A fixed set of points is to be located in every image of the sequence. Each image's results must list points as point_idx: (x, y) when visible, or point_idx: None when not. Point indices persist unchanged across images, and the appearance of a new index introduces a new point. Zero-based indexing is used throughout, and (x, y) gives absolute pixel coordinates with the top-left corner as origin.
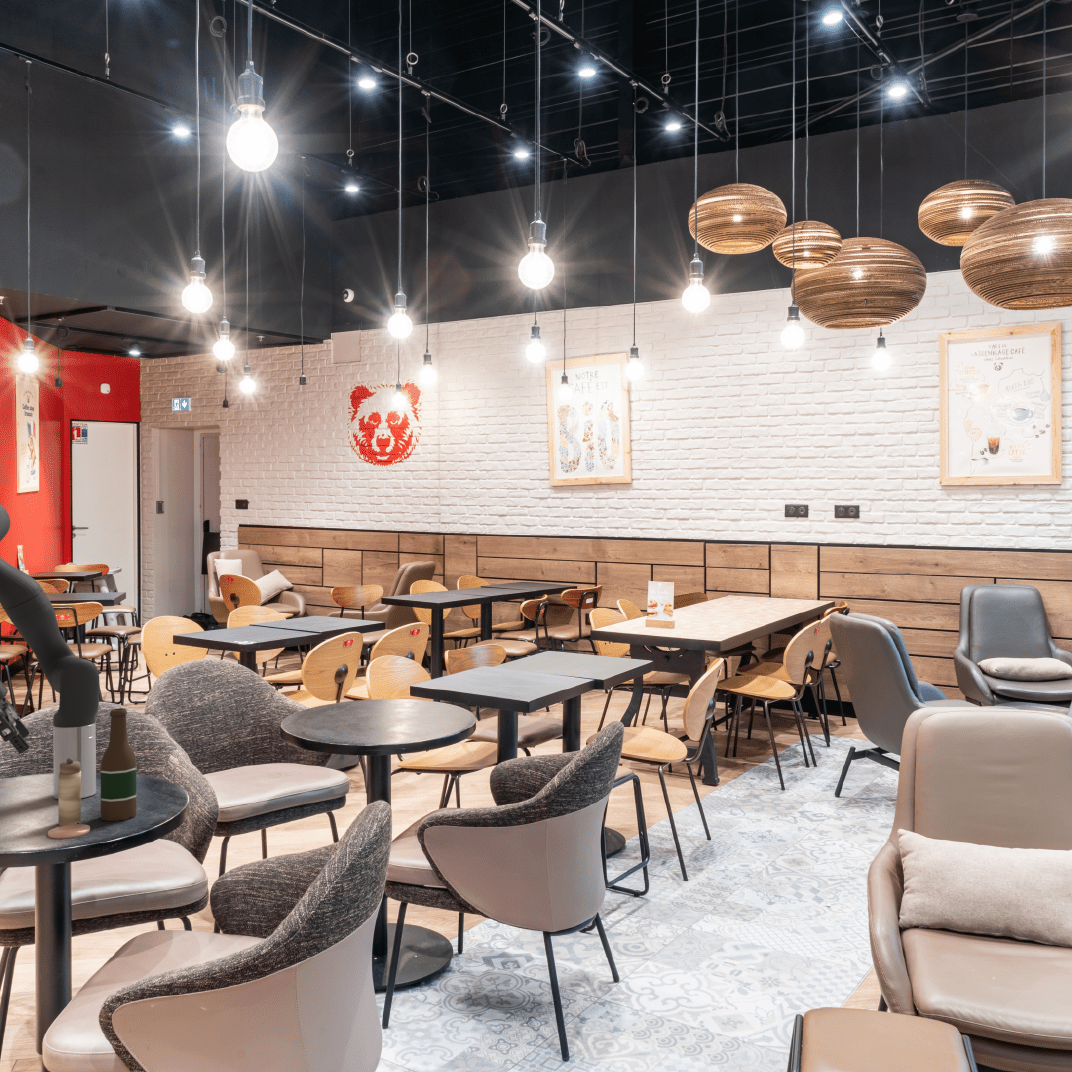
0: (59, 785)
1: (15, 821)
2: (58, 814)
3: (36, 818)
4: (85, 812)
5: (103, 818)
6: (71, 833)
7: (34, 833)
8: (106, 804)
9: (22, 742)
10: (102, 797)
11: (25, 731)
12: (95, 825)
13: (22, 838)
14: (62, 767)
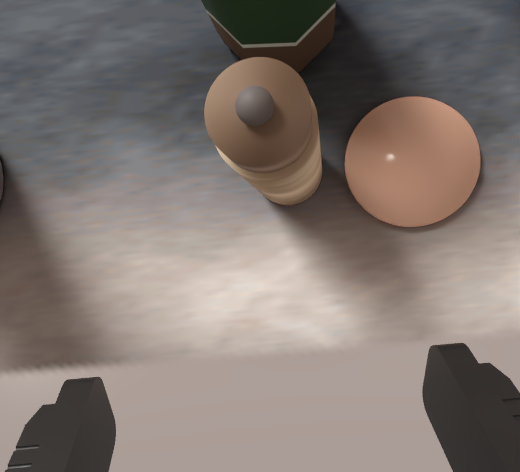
0: (292, 180)
1: (191, 340)
2: (287, 201)
3: (182, 279)
4: (174, 133)
5: (307, 64)
6: (463, 149)
7: (368, 270)
8: (319, 29)
9: (514, 413)
10: (302, 33)
11: (93, 417)
12: (352, 88)
13: (414, 302)
14: (297, 148)
